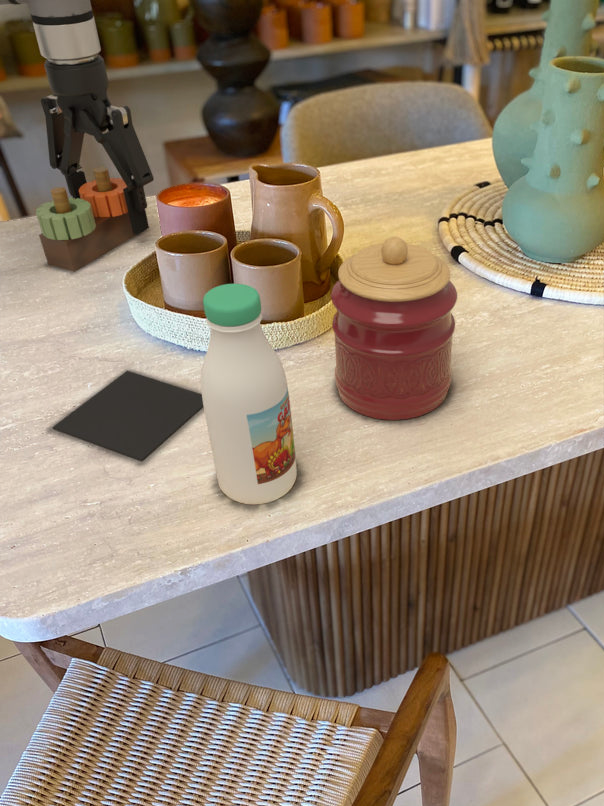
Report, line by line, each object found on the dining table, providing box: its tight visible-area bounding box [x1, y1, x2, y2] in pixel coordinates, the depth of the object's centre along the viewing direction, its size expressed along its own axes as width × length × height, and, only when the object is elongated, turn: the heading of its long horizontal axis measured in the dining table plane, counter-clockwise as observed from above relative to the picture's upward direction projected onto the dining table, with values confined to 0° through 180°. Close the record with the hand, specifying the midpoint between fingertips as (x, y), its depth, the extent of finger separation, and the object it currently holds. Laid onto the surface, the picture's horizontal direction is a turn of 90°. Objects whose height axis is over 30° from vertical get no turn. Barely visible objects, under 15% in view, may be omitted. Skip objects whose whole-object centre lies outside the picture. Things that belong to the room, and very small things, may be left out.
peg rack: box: [38, 166, 137, 272], centre depth 110 cm, size 15×5×10 cm, turn 153°
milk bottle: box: [200, 283, 298, 505], centre depth 69 cm, size 8×8×20 cm
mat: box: [52, 370, 204, 462], centre depth 83 cm, size 12×12×1 cm
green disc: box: [35, 197, 96, 240], centre depth 107 cm, size 7×7×3 cm
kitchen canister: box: [330, 236, 458, 421], centre depth 81 cm, size 13×13×18 cm
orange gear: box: [79, 177, 128, 217], centre depth 112 cm, size 7×7×3 cm
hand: (113, 224), depth 115 cm, fingers open, 10 cm apart
